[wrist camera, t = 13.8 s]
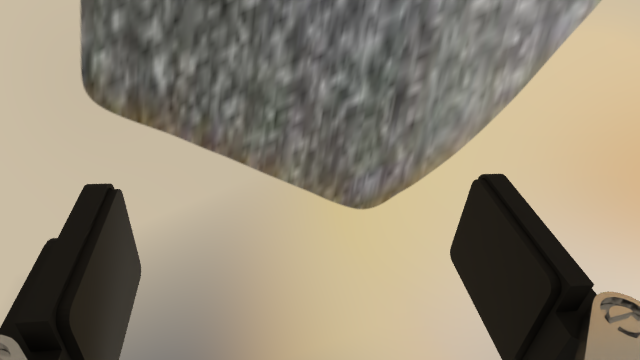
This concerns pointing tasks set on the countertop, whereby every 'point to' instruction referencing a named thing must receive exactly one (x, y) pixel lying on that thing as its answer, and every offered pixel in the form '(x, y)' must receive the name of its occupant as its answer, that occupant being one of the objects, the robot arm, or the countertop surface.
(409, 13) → the countertop surface
